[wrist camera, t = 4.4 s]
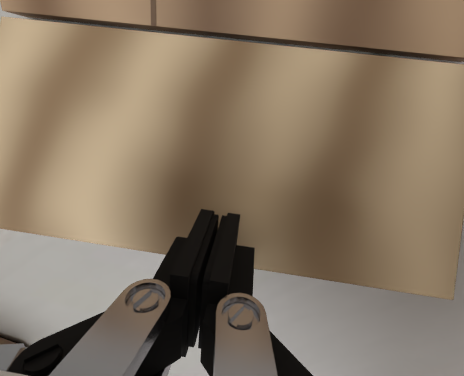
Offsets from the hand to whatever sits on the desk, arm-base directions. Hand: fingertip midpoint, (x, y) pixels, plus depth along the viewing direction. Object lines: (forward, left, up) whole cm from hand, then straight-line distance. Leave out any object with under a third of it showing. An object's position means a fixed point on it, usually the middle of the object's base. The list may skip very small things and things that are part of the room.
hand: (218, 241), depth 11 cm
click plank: (+1, -3, -3) cm, 5 cm away
